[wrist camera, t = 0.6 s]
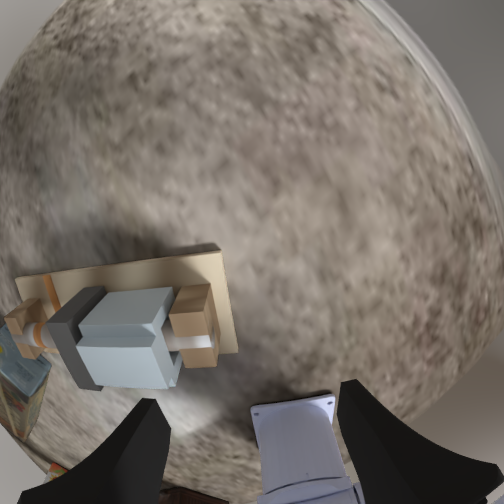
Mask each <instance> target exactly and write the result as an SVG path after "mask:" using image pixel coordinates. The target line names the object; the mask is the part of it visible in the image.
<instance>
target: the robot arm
mask: <svg viewBox="0 0 504 504" xmlns="http://www.w3.org/2000/svg"><path fill="white" fill-rule="evenodd" d="M334 404H335V396H334V394H327V395H323V396H317V397H312V398H307V399H301V400H295V401H288V402H281V403H273V404H265V405H255V406H252V407H251V409H250V410H251V416H252V420H253V425H254V429H255V434H256V438H257V443H258V447H259V451H260V457H261V472H262V486H263V495H261V496H257V504H486V503H487V499H486V496H487V495H488V494H490V493H491V492H492V491H493V490H494V489H496V488H497V487H498V486H499V485H501V484H502V483H503V482H504V476H503V474H502V472H501V470H500V469H499V467H498V466H497V465H496V464H492V463H488V462H483V461H478V460H475V459H471V458H468V457H465V456H462V455H459V454H457V453H454V452H452V451H450V450H448V449H445V448H443V447H441V446H439V445H437V444H435V443H433V442H432V441H430V440H428V439H426V438H425V437H423V436H422V435H420V434H418V433H417V432H415V431H414V430H412V429H411V428H410V427H408V426H407V425H406V424H404V423H403V422H402V421H401V420H399V419H398V418H397V417H396V416H394V415H393V414H392V413H391V412H390V411H389V410H388V409H386V408H385V407H384V406H383V405H382V404H381V403H380V402H379V401H378V400H377V399H376V398H375V397H374V396H373V395H372V394H371V393H370V392H369V391H368V390H367V389H366V388H365V387H364V386H363V385H362V384H361V383H360V382H359V381H358V380H357V379H354V380H349V381H345V382H341V387H340V394H339V401H338V408H337V417H338V421H339V426H340V429H341V433H342V436H343V439H344V442H345V444H346V447H347V449H348V452H349V454H350V457H351V459H352V462H353V464H354V467H355V470H356V472H357V475H358V478H359V481H360V482H358V483H354V484H353V487H352V484H351V480H350V477H349V476H347V475H346V471H345V468H344V464H343V461H342V458H341V454H340V451H339V448H338V445H337V441H336V438H335V435H334V432H333V428H332V419H333V412H334ZM170 434H171V427H170V426H169V424H168V422H167V420H166V418H165V416H164V414H163V413H162V411H161V409H160V407H159V405H158V403H157V401H156V399H148V398H142V399H141V400H140V401H139V402H138V404H137V405H136V406H135V407H134V408H133V409H132V411H131V412H130V413H129V414H128V415H127V416H126V418H125V419H124V420H123V421H122V422H121V424H120V425H119V426H118V427H117V428H116V429H115V430H114V431H113V433H112V434H111V435H110V436H109V437H108V438H107V439H106V440H105V441H104V442H103V443H102V444H101V445H100V446H99V447H98V448H97V449H96V450H95V451H94V452H93V453H91V454H90V455H89V456H88V457H87V458H85V459H84V460H83V461H82V462H80V463H79V464H78V465H76V466H75V467H73V468H72V469H70V470H69V471H67V472H66V473H64V474H62V475H61V476H59V477H57V478H55V479H53V480H51V481H49V482H47V483H45V484H42V485H40V486H37V487H34V488H31V489H29V490H25V491H22V493H21V495H20V498H19V500H18V502H17V504H158V499H159V492H160V487H161V482H162V478H163V474H164V469H165V465H166V461H167V456H168V452H169V445H170ZM492 504H504V494H503V495H502V496H501V497H500V498H498V499H497V500H496V501H494V502H493V503H492Z"/></svg>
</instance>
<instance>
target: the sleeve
mask: <svg viewBox="0 0 504 504" xmlns="http://www.w3.org/2000/svg"><path fill="white" fill-rule="evenodd" d="M174 302H175V297H174V293H173V289H172V287H164V288H153V289H143V290H132V291H121V292H109V293H108V294H107V295H106V296H105V297H104V298H103V299H102V300H101V301H100V302H99V303H98V304H97V305H96V306H95V307H94V309H93V310H92V311H91V312H90V313H89V314H88V315H87V316H86V317H85V318H84V319H83V321H82V322H81V323H80V324H79V325H78V326H79V329H80V331H81V333H82V336H83V338H82V339H81V340H80V341H79V343H78V344H77V345H76V348H77V350H78V352H79V354H80V356H81V358H82V360H83V362H84V364H85V366H86V368H87V370H88V371H89V373H90V375H91V377H92V379H93V381H94V382H95V384H96V385H102V386H113V387H126V388H144V389H168V388H169V387H175V386H176V383H177V379H178V375H179V372H180V368H181V364H182V361H183V359H182V356H181V353H180V351H168V348H167V346H166V343H165V340H164V337H163V334H162V331H161V327H162V325H163V323H164V321H165V320H169V319H170V318H169V312H170V310H171V308H172V306H173V304H174Z"/></svg>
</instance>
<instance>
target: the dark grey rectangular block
mask: <svg viewBox="0 0 504 504" xmlns="http://www.w3.org/2000/svg"><path fill="white" fill-rule="evenodd" d="M106 295H107V294H106V291H105V288H104V286H96V287H85V288H83V289H82V290H80V291H79V292H78V293H77V294H76V295H75V296H74V297H72V298H71V299H70V300H69V301H68V302H67V303H66V304H65V305H64V306H62V307H61V308H60V309H59V310H58V311H57V312H56V313H55V314H54V315H53V316H52V317H51V318H50V319H48V320H47V321H46V322H45V323H46V326H47V328H48V330H49V332H50V335H51V337H52V339H53V341H54V343H55V345H56V347H57V349H58V351H59V353H60V355H61V357H62V359H63V361H64V363H65V365H66V366H67V368H68V370H69V372H70V374H71V375H72V377H73V379H74V380H75V382H76V384H77V386H78V387H79V388H80V389H87V390H95V391H101V390H102V388H103V386H102V385H96V384H95V382H94V381H93V379H92V377H91V375H90V373H89V371H88V370H87V368H86V366H85V364H84V362H83V360H82V358H81V356H80V354H79V352H78V350H77V348H76V345H77V344H78V343H79V341H80V340H81V339H82V338H83V336H82V333H81V331H80V329H79V326H78V325H79V324H80V323H81V322H82V321H83V319H84V318H85V317H86V316H87V315H88V314H89V313H90V312H91V311H92V310H93V309H94V307H95V306H96V305H97V304H98V303H99V302H100V301H101V300H102V299H103V298H104V297H105V296H106Z"/></svg>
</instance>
